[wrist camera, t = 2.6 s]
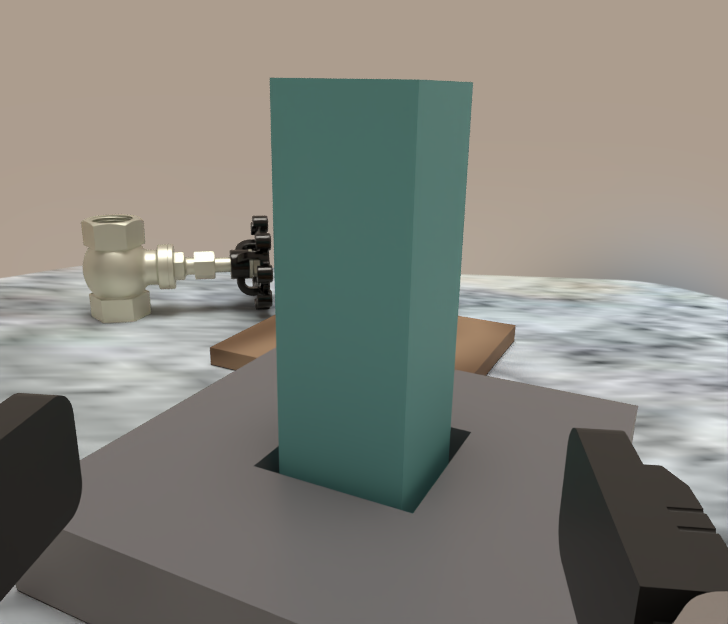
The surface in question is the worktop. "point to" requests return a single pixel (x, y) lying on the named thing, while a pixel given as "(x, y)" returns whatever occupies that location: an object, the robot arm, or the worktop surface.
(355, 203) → the plug
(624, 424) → the grey square socket plate
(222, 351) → the board
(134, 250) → the valve
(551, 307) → the worktop surface
